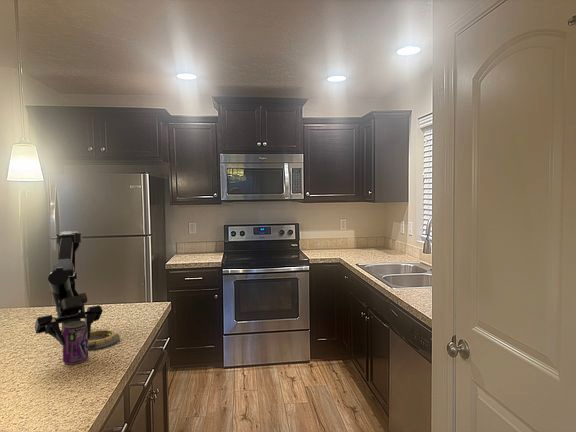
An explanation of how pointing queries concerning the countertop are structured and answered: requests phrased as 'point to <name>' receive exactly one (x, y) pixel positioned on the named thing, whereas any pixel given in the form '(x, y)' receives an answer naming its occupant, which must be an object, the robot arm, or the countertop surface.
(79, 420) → the countertop surface
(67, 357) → the beverage can
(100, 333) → the carrier plate
